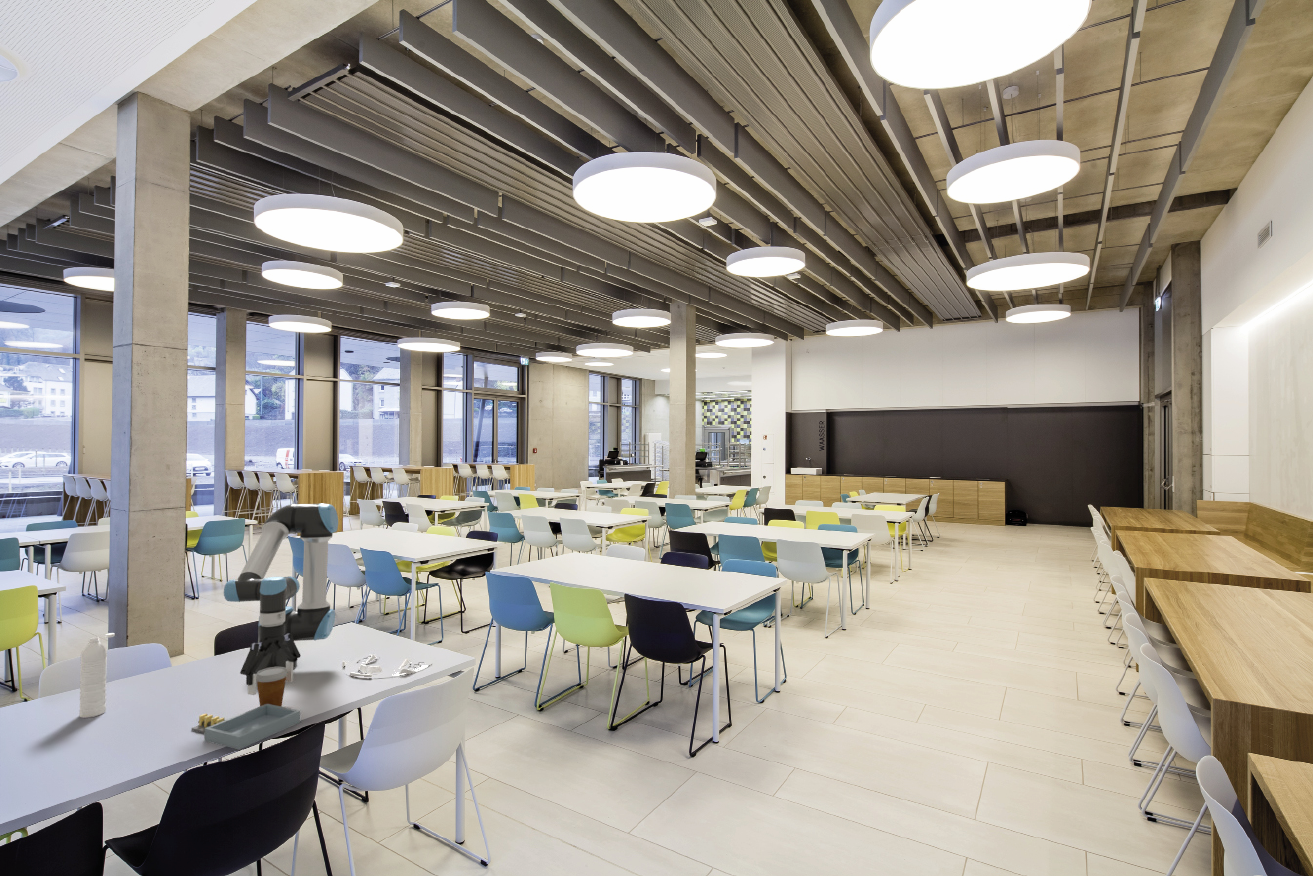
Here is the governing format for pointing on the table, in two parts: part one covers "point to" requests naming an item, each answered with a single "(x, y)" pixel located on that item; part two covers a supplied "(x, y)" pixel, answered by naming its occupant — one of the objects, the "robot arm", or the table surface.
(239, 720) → the shallow rectangular grey tray
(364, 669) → the cable organizer
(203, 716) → the clip
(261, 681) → the disposable coffee cup
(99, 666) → the water bottle
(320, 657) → the table surface
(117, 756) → the table surface
